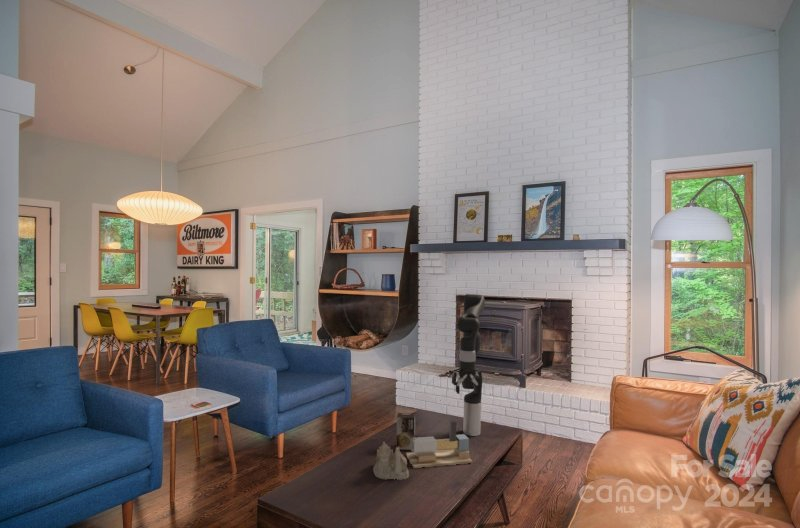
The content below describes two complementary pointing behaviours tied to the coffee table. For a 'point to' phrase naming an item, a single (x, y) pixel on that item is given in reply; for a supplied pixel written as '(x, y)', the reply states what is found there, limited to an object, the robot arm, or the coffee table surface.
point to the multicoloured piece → (452, 440)
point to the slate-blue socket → (462, 447)
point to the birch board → (439, 459)
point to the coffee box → (405, 430)
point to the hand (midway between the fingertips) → (466, 392)
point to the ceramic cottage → (390, 464)
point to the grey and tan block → (424, 449)
